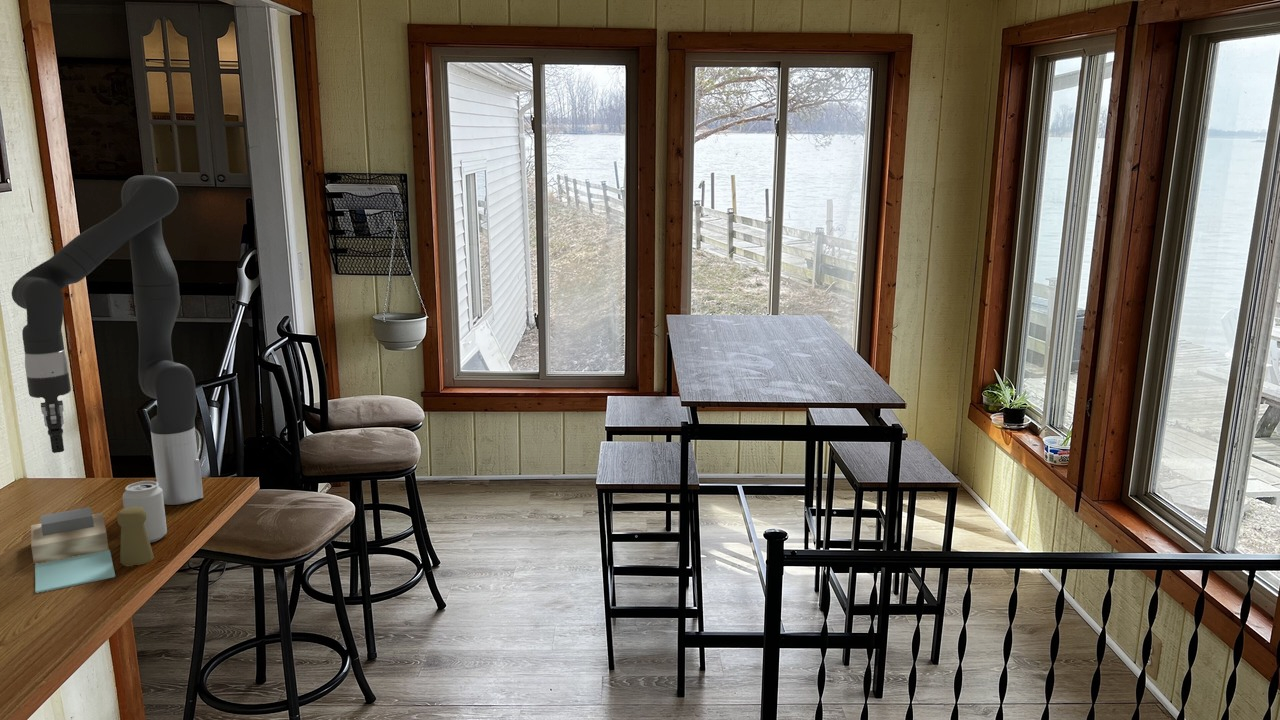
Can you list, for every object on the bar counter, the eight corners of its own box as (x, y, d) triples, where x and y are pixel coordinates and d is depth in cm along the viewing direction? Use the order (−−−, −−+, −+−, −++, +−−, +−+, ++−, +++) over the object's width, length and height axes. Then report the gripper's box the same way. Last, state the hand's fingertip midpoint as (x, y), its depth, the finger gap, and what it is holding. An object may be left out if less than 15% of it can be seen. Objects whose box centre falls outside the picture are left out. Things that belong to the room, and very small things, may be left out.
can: (175, 533, 200) (169, 481, 198) (147, 547, 193) (140, 493, 191) (148, 529, 203) (142, 477, 200) (119, 542, 196) (112, 488, 193)
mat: (110, 551, 191) (109, 549, 191) (115, 576, 180) (115, 575, 180) (35, 566, 184) (35, 564, 184) (35, 593, 173) (35, 591, 173)
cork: (139, 567, 184) (133, 515, 182) (113, 564, 185) (106, 513, 183) (160, 555, 190) (154, 504, 187) (134, 552, 191) (128, 502, 189)
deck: (104, 529, 202) (102, 512, 201) (108, 550, 192) (106, 532, 191) (33, 542, 195) (31, 525, 195) (34, 565, 185) (31, 546, 184)
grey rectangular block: (92, 517, 199) (90, 506, 198) (93, 526, 194) (92, 515, 193) (42, 526, 194) (40, 515, 193) (42, 535, 189) (41, 524, 189)
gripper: (69, 376, 191) (80, 456, 194) (67, 364, 202) (77, 440, 205) (26, 380, 187) (37, 463, 190) (26, 368, 198) (37, 446, 201)
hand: (58, 451), depth 198 cm, fingers closed
